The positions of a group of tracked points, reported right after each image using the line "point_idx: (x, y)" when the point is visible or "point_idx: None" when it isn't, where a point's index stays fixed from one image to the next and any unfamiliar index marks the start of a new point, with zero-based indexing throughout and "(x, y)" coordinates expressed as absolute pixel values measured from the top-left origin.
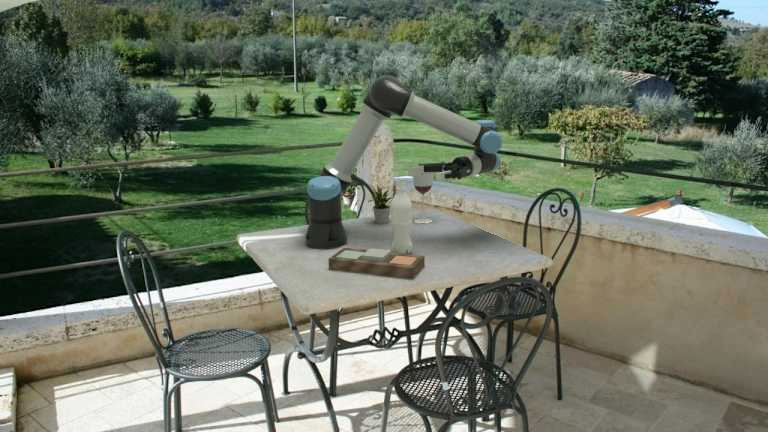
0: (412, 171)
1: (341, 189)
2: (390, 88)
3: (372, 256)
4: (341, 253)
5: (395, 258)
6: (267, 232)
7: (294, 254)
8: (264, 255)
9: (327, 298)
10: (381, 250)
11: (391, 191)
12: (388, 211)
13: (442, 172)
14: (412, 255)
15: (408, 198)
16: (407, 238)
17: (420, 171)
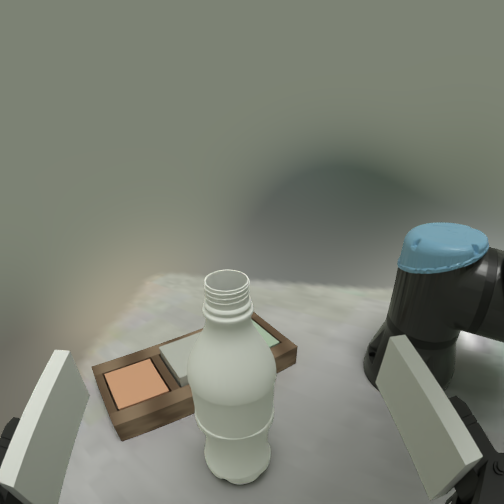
0: (391, 377)
1: (490, 300)
2: None
3: (180, 339)
4: (263, 331)
5: (155, 378)
6: None
7: (357, 316)
8: (370, 291)
9: (155, 290)
10: None
11: None
12: None
13: (36, 391)
14: (138, 411)
15: (198, 355)
16: (206, 439)
17: (424, 457)
